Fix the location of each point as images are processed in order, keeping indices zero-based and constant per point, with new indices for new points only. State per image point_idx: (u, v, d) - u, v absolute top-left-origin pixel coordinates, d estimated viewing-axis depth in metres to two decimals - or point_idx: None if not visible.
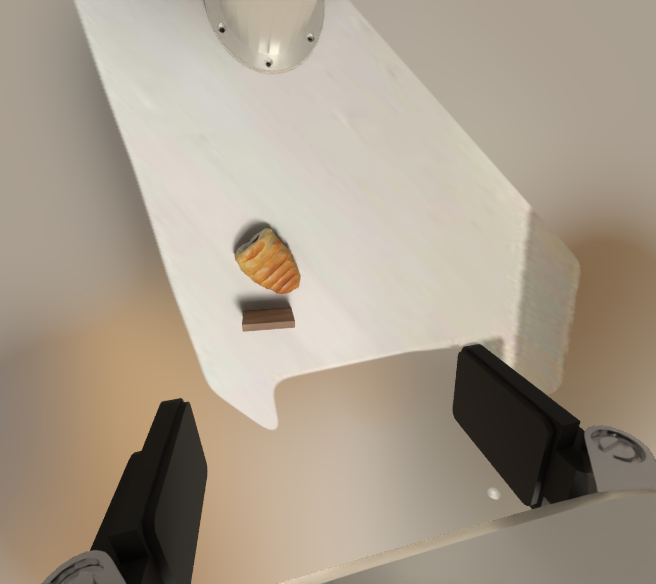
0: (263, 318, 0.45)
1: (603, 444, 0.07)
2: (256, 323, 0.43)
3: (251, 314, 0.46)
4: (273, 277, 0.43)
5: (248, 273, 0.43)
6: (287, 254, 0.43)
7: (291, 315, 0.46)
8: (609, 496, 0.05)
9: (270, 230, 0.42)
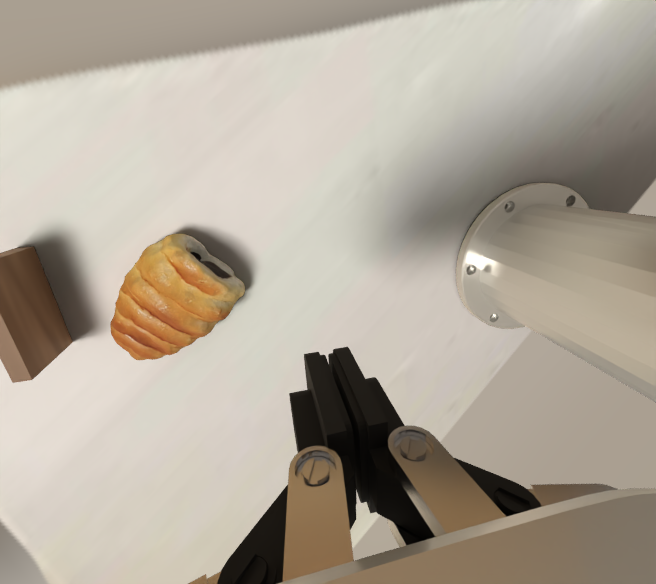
0: (20, 305, 0.19)
1: (405, 450, 0.08)
2: None
3: (27, 270, 0.20)
4: (146, 319, 0.20)
5: (141, 265, 0.20)
6: (201, 334, 0.22)
7: (48, 359, 0.20)
8: (609, 496, 0.05)
9: (242, 294, 0.23)
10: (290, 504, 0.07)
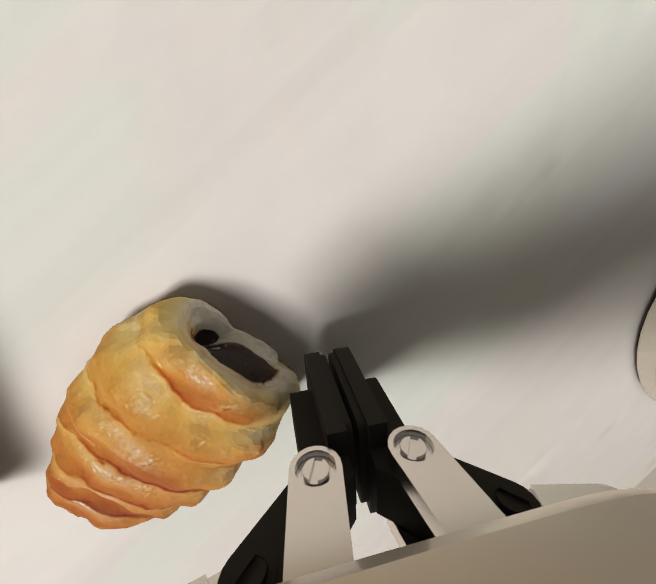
0: None
1: (404, 450, 0.08)
2: None
3: None
4: (111, 482, 0.10)
5: (97, 373, 0.10)
6: None
7: None
8: (609, 496, 0.05)
9: None
10: (290, 504, 0.07)
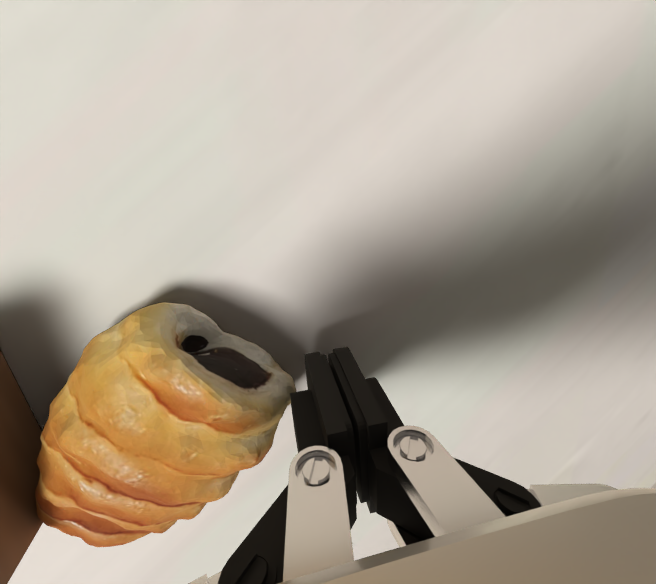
0: None
1: (404, 450, 0.08)
2: None
3: None
4: (101, 500, 0.09)
5: (79, 388, 0.09)
6: None
7: (18, 552, 0.10)
8: (609, 496, 0.05)
9: None
10: (290, 504, 0.07)
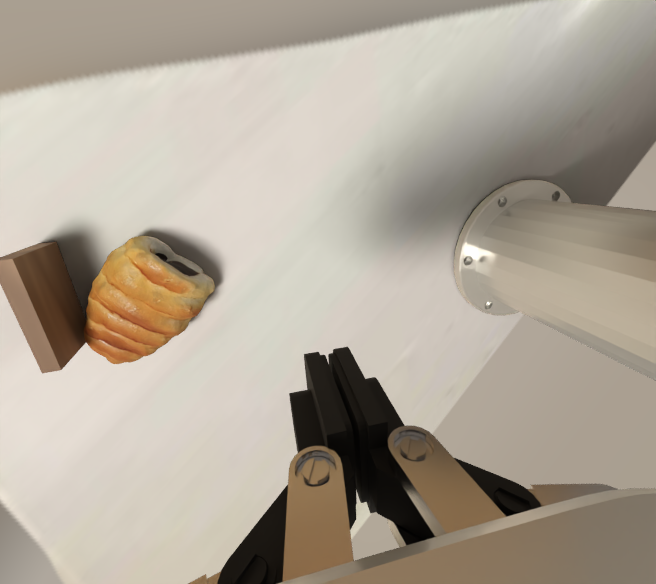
0: (48, 297, 0.19)
1: (404, 450, 0.08)
2: (27, 291, 0.18)
3: (52, 265, 0.20)
4: (117, 322, 0.21)
5: (107, 270, 0.21)
6: (175, 333, 0.23)
7: (73, 351, 0.21)
8: (609, 496, 0.05)
9: (212, 290, 0.24)
10: (290, 504, 0.07)
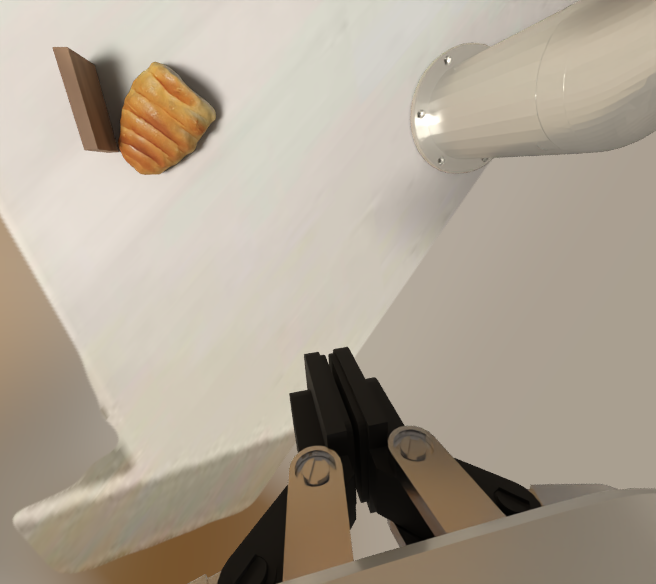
0: (89, 95, 0.27)
1: (405, 450, 0.08)
2: (76, 76, 0.25)
3: (92, 77, 0.27)
4: (143, 126, 0.28)
5: (135, 85, 0.28)
6: (185, 145, 0.30)
7: (106, 147, 0.28)
8: (609, 496, 0.05)
9: (213, 117, 0.30)
10: (290, 504, 0.07)
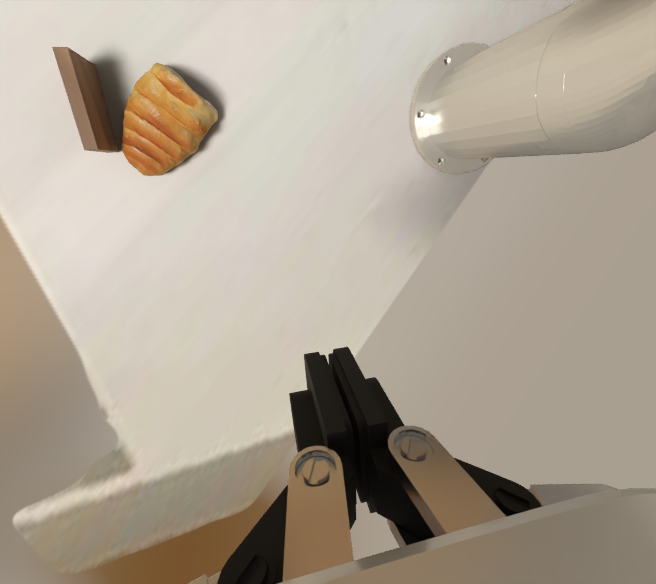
0: (89, 95, 0.27)
1: (404, 450, 0.08)
2: (76, 76, 0.25)
3: (92, 77, 0.27)
4: (145, 127, 0.28)
5: (137, 86, 0.28)
6: (188, 145, 0.30)
7: (106, 147, 0.28)
8: (609, 496, 0.05)
9: (216, 117, 0.30)
10: (290, 504, 0.07)
